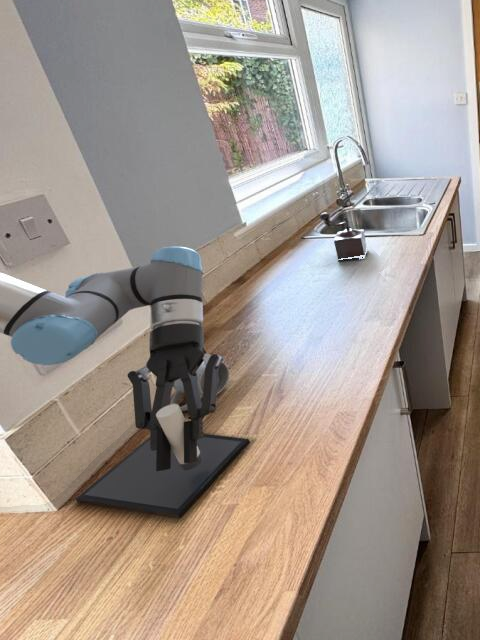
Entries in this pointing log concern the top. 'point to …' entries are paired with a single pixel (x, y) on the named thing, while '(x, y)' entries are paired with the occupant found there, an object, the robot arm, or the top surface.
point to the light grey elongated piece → (176, 433)
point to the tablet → (162, 479)
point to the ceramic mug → (202, 383)
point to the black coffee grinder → (347, 240)
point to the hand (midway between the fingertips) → (177, 465)
